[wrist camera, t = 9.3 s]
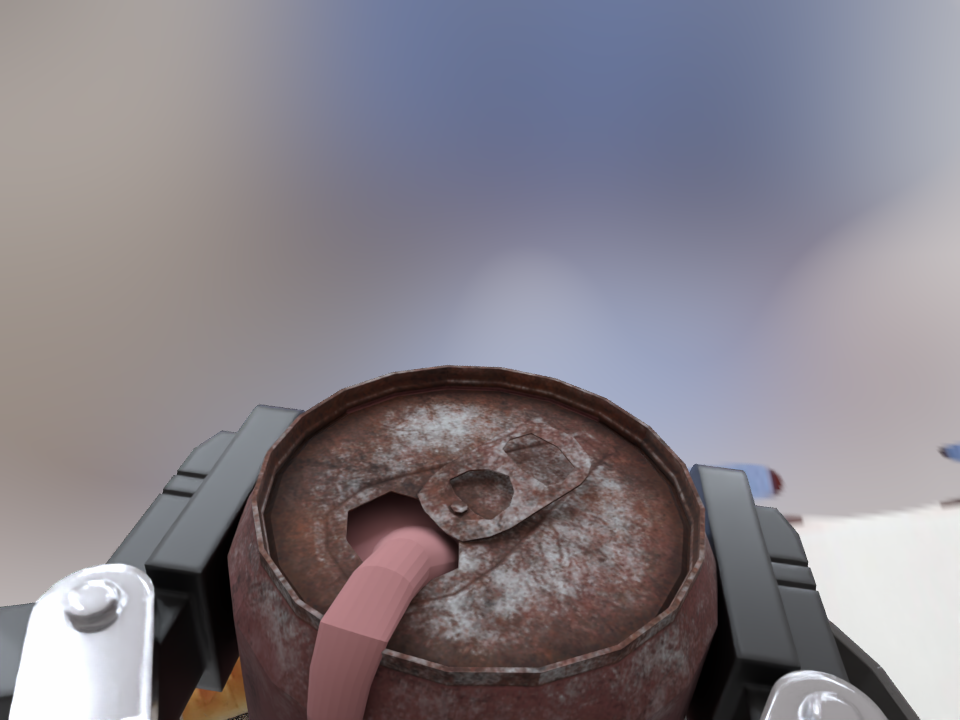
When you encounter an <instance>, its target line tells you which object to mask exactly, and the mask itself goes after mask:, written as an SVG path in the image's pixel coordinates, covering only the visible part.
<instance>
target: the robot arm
mask: <svg viewBox="0 0 960 720" xmlns="http://www.w3.org/2000/svg"><path fill="white" fill-rule="evenodd" d="M304 412H305V411H304V410H297V409H290V408H283V407H275V406H268V405H257V406H256V407H255V408H254V409H253V411H252V412H251V414H250V415H249V416H248V418H247V419H246V421H245V422H244V424H243V425H242V426H241V428H240V429H239V431H238V432H237V433H236V432H229V431H220V432H219V433H217V434H216V435H214V436H213V437H211V438H209V439H208V440H206V441H205V442H203V443H202V444H200V445H199V446H197V447H196V448H194V450H193V451H192V452H191V454H190V455H189V456H188V457H187V459H186V460H185V461H184V463H183V464H182V465H181V466H180V468H179V469H178V470H177V475H174V476H173V477H172V478H171V480H170V481H169V482H168V483H167V485H166V486H165V487H164V489H163V493H162V494H159V495H158V496H157V498H156V499H155V501H154V502H153V503H152V504H151V506H150V507H149V508H148V509H147V511H146V512H145V514H144V515H143V516H142V517H141V519H140V520H139V521H138V523H137V524H136V525H135V526H134V528H133V529H132V530H131V532H130V533H129V534H128V536H127V537H126V538H125V539H124V541H123V542H122V543H121V545H120V546H119V547H118V549H117V550H116V551H115V552H114V554H113V555H112V556H111V558H110V559H109V560H108V562H107V563H106V564H101V565H96V566H91V567H87V568H85V569H82V570H79V571H76V572H74V573H72V574H70V575H68V576H66V577H65V578H63V579H61V580H60V581H58V582H57V583H55V584H54V585H53V586H51V587H50V588H49V589H48V590H47V591H46V592H45V593H44V594H43V595H42V596H41V597H40V599H39V600H38V601H37V602H36V603H29V604H21V605H13V606H4V607H0V720H184V719H183V714H182V713H183V711H184V709H185V707H186V705H187V703H188V702H189V700H190V698H191V696H192V694H193V692H194V690H195V688H199V689H205V690H211V691H217V692H222V691H223V689H224V687H225V685H226V682H227V680H228V678H229V676H230V674H231V672H232V670H233V668H234V666H235V664H236V662H237V660H238V658H239V650H238V643H237V637H236V630H235V623H234V616H233V606H232V597H231V587H230V578H229V568H228V558H227V556H228V553H229V550H230V547H231V544H232V541H233V538H234V535H235V533H236V530H237V527H238V524H239V521H240V518H241V515H242V512H243V509H244V507H245V504H246V502H247V499H248V498H249V496H250V494H251V493H252V491H253V489H254V487H255V485H256V482H257V479H258V476H259V473H260V470H261V467H262V464H263V461H264V458H265V455H266V452H267V451H268V450H269V449H270V448H271V446H272V445H273V444H274V443H275V442H276V441H277V440H278V439H279V437H280V436H281V435H282V434H283V433H284V432H285V431H286V429H287V428H288V427H289V426H290V425H291V424H292V423H293V421H294V420H295V419H296V418H297V417H298V416H299V415H300V414H302V413H304ZM690 476H691V478H692V480H693V483H694V485H695V487H696V489H697V492H698V494H699V496H700V498H701V501H702V503H703V505H704V507H705V533H706V535H707V538H708V541H709V544H710V546H711V549H712V552H713V555H714V558H715V560H716V565H717V585H718V625H717V628H716V631H715V634H714V637H713V640H712V642H711V645H710V648H709V651H708V654H707V657H706V660H705V663H704V665H703V668H702V671H701V674H700V677H699V680H698V683H697V685H696V688H695V691H694V694H693V697H692V700H691V703H690V705H689V708H688V711H687V714H686V718H687V720H888V719H887V718H886V716H885V715H884V713H883V712H882V711H881V709H880V708H879V707H878V706H877V705H876V704H875V703H874V702H873V701H872V700H871V699H870V698H869V697H868V696H867V695H866V694H864V693H863V692H862V691H860V690H859V689H858V688H856V687H855V686H853V685H851V684H850V681H849V679H848V676H847V673H846V671H845V668H844V665H843V662H842V659H841V656H840V653H839V650H838V647H837V644H836V641H835V639H834V636H833V633H832V630H831V627H830V624H829V621H828V618H827V615H826V612H825V609H824V607H823V604H822V601H821V598H820V595H819V592H818V591H816V583H815V580H814V577H813V575H812V572H811V569H810V568H808V560H807V557H806V554H805V551H804V548H803V546H802V543H801V540H800V537H799V534H798V533H797V532H796V531H795V529H794V528H793V527H792V526H791V525H790V524H789V522H788V521H787V520H786V519H785V518H784V517H783V515H782V514H781V513H780V512H779V511H778V510H777V508H771V507H763V506H757V505H755V503H754V500H753V496H752V493H751V489H750V486H749V482H748V479H747V476H746V474H745V472H744V471H742V470H735V469H728V468H721V467H713V466H706V465H698V464H695V465H693V467H692V469H691V471H690Z"/></svg>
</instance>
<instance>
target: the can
mask: <svg viewBox="0 0 960 720" xmlns="http://www.w3.org/2000/svg"><path fill="white" fill-rule="evenodd" d="M227 558H228V568H229V578H230V587H231V597H232V606H233V616H234V623H235V630H236V637H237V643H238V650H239V656H240V663H241V670H242V676H243V683H244V690H245V696H246V703H247V709H248V716H249V720H685V717H686V714H687V711H688V708H689V705H690V703H691V700H692V697H693V694H694V691H695V688H696V685H697V683H698V680H699V677H700V674H701V671H702V668H703V665H704V663H705V660H706V657H707V654H708V651H709V648H710V645H711V642H712V640H713V637H714V634H715V631H716V628H717V625H718V585H717V565H716V560H715V558H714V555H713V552H712V549H711V546H710V544H709V541H708V538H707V535H706V533H705V507H704V505H703V503H702V501H701V498H700V496H699V494H698V492H697V489H696V487H695V485H694V483H693V480H692V478H691V476H690V474H689V471H688V469H687V467H686V465H685V463H684V462H683V461H682V460H681V459H680V458H679V457H678V456H677V455H676V454H675V453H674V452H673V450H672V449H670V447H669V446H668V445H667V444H666V443H665V442H664V441H663V440H662V439H661V438H660V436H659V435H658V434H657V433H656V432H655V431H654V430H653V429H652V428H651V427H650V426H648V425H647V424H645V423H644V422H642V421H641V420H639V419H638V418H636V417H634V416H633V415H631V414H630V413H628V412H627V411H625V410H624V409H622V408H620V407H619V406H617V405H616V404H614V403H613V402H611V401H610V400H608V399H607V398H604V397H602V396H599V395H597V394H594V393H592V392H589V391H587V390H584V389H581V388H579V387H576V386H574V385H571V384H568V383H566V382H564V381H561V380H558V379H556V378H551V377H547V376H542V375H537V374H532V373H527V372H522V371H517V370H512V369H507V368H502V367H480V366H453V365H445V366H437V367H430V368H421V369H414V370H407V371H399V372H392V373H389V374H386V375H383V376H380V377H377V378H374V379H371V380H368V381H365V382H362V383H359V384H356V385H353V386H350V387H347V388H344V389H341V390H340V391H338V392H336V393H335V394H333V395H331V396H330V397H328V398H327V399H325V400H323V401H322V402H320V403H318V404H317V405H315V406H314V407H312V408H310V409H309V410H307V411H305V412H304V413H302V414H300V415H299V416H298V417H297V418H296V419H295V420H294V421H293V423H292V424H291V425H290V426H289V427H288V428H287V429H286V431H285V432H284V433H283V434H282V435H281V436H280V437H279V439H278V440H277V441H276V442H275V443H274V444H273V445H272V446H271V448H270V449H269V450H268V451H267V452H266V455H265V458H264V461H263V464H262V467H261V470H260V473H259V476H258V479H257V482H256V485H255V487H254V489H253V491H252V493H251V494H250V496H249V498H248V499H247V502H246V504H245V507H244V509H243V512H242V515H241V518H240V521H239V524H238V527H237V530H236V533H235V535H234V538H233V541H232V544H231V547H230V550H229V553H228V556H227Z"/></svg>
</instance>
